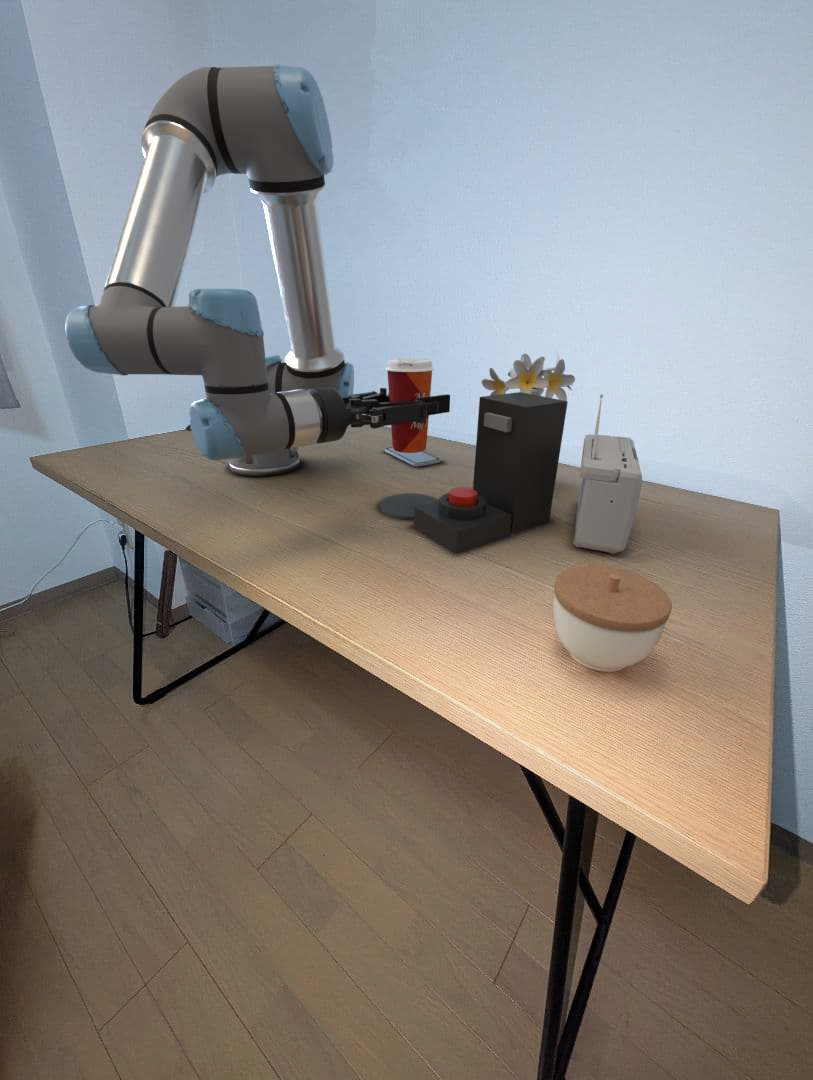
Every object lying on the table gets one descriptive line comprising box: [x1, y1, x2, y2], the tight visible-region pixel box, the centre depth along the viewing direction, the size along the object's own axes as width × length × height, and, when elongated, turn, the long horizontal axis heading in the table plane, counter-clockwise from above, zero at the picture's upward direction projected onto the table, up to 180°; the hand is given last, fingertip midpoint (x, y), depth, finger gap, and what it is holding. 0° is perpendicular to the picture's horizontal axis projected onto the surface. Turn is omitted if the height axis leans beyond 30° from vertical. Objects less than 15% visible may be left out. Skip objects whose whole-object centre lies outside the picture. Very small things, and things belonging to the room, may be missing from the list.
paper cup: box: [385, 358, 435, 453], centre depth 76 cm, size 8×8×14 cm
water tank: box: [472, 391, 569, 534], centre depth 77 cm, size 10×10×20 cm
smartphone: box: [384, 446, 441, 468], centre depth 114 cm, size 7×1×15 cm
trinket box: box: [552, 564, 673, 673], centre depth 48 cm, size 11×11×9 cm
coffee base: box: [413, 492, 512, 554], centre depth 75 cm, size 11×11×6 cm
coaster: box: [379, 493, 439, 520], centre depth 85 cm, size 11×11×1 cm
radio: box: [573, 393, 643, 555], centre depth 74 cm, size 21×8×20 cm, turn 160°
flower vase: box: [481, 352, 576, 401], centre depth 92 cm, size 13×18×25 cm
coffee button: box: [448, 487, 477, 506], centre depth 74 cm, size 4×4×2 cm
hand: (433, 400), depth 79 cm, fingers closed on paper cup, 6 cm apart
